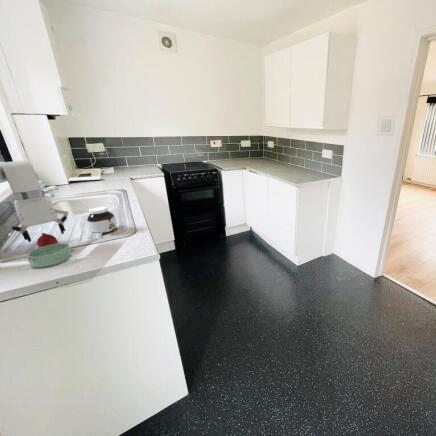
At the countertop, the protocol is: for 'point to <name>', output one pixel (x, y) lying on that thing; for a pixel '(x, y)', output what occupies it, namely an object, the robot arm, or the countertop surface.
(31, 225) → the robot arm
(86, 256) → the countertop surface
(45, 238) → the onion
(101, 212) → the spread jar
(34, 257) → the green shallow round dish
